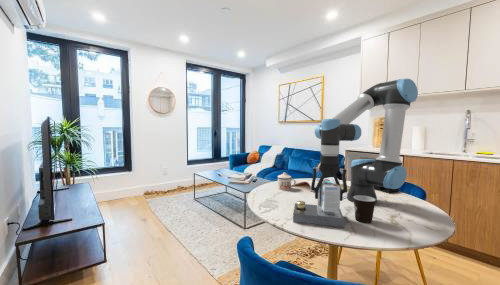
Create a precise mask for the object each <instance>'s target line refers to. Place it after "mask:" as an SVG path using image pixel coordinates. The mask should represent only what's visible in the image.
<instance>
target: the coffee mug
mask: <svg viewBox="0 0 500 285" xmlns="http://www.w3.org/2000/svg"><path fill="white" fill-rule="evenodd" d="M353 198H354V202H353V205H354V206H353V208H354V218H355V221H356V222H358V223H361V224H367V225H368V224H372V222H373V217H374V211H375V205H376V203H375V201H376V199H374V198H372V197H369V196H361V195H357V196H354V197H353Z"/></svg>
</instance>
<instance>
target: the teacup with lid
mask: <svg viewBox="0 0 500 285" xmlns="http://www.w3.org/2000/svg"><path fill="white" fill-rule="evenodd" d="M292 181H293V184H292ZM296 183H297V181H296V179H294V178H292V176H291V175H289V174H288V173H287V172H283V173H281V174H278V175H277V189H278V190H279V191H291V190H292V187H295V185H296Z"/></svg>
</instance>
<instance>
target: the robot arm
mask: <svg viewBox="0 0 500 285" xmlns="http://www.w3.org/2000/svg"><path fill="white" fill-rule="evenodd" d="M418 90H419V89H418V87H417V84H416V83H415V81H414V80H413V79H411V78H399V79H395V80H390V81H384V82H380V83H376V84H374V85H373V86H371V87H369V88H367V89H366V90H364V91H363V92H362V93H360V94H359V95H358V96H357V99H356V100H354V101H353V102H352V103H350V104H349V105H348V106H347V107H345V108H344V109H343V110H341V111H340V112H338V113H337V114H335V116H333V117H332V118H324V119H322V120H321V124H317V126H316V127H315V128H314V135H315V137H316V138H317V139H318V140H320V154H321V155H320V157H319V158H320V164H319V166H318V167H316V166H314V167H313V168H312V172H313V175H312V180H311V185H310V191H313V192H314V198H315V200H317V204H316V205H317V206H318V207H319V206H320V191H318V190H319V188H320V186H321V184H322V182H323V181H325V178H327V177H330V178H333V179H334V182H335V183H336V184H337V185H339V186H340V202H342V201H343V200H344V199H343V195H344V193H346V200H348V201H350V202H353V203H354V198H353V197H354V196H357V195H361V196H369V197H372V198H374V199H376V201H375V204H377V203H378V196H377V194H376V190H374V185H378V186H382V187H385V188H390V189H397V188H399V189H400V188H401V187H402V186H403V185H404V183H405V182H406V179H407V174H408V173H407V169H406V167H404V166H403V161H402V160H401V159H400V157H401V156H400V155H401V149H402V140H403V133H404V126H405V119H406V111H407V110H408V109H409V108H411V103H414V102H416V100H417V99H418V94H419V91H418ZM378 106H382V108H383V109H384V110H385V111H384V118H383V125H382V126H383V127H382V134H381V141H380V149H379V155H378V156H377V157H376V158H375V159H374V158H364V159H363V158H360V159H359V158H358V159H353V160H352V161H351V166H350V185H349V189H348V185H347V177H346V176H347V175H346V174H347V169H346V168H341V167H340V162H339V161H340V157H339V154H340V142H341V141H345V142H354V141H357V140H359V139H360V138H361V136H362V128H361V127H360V125H358V124H356V123H355V124H354V123H352V122H353V121H355V120H356V119H357V118H359V117H360V116H361V115H362V114H363V113H365V112H366V111H368V110H371V109H373V108H374V107H378ZM319 171H320V172H321V176H320V177H319V179H318V181H319V182H317V183H316V179H317V173H318V172H319ZM339 172H340V174H341V180H342V187H341V185H340V184H341V183H340V181H339V178H338V177H337V174H338V173H339Z"/></svg>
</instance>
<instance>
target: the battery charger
mask: <svg viewBox="0 0 500 285" xmlns="http://www.w3.org/2000/svg"><path fill="white" fill-rule="evenodd" d="M374 190H375V191H378V192H382V193H385V194H389V195H390V194H396V193H400V187H399V188H397V189H390V188H385V187H382V186H378V185H374Z"/></svg>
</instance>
